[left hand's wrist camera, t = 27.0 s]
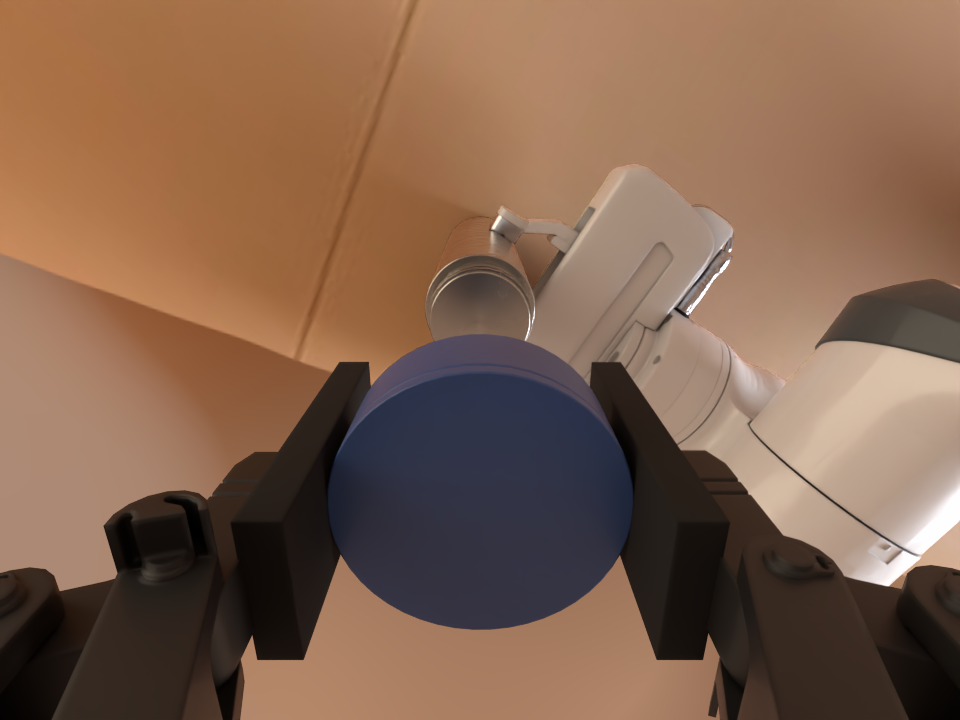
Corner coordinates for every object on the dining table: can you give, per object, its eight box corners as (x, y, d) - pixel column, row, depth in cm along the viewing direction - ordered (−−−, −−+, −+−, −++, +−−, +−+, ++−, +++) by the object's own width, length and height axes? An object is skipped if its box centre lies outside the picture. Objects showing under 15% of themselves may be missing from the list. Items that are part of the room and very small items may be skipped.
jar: (528, 251, 39) (564, 322, 23) (480, 298, 41) (480, 398, 24) (480, 201, 38) (480, 235, 21) (432, 251, 39) (395, 321, 23)
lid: (438, 279, 11) (428, 308, 9) (661, 421, 12) (699, 476, 10) (307, 486, 13) (274, 550, 10) (513, 593, 14) (519, 670, 12)
